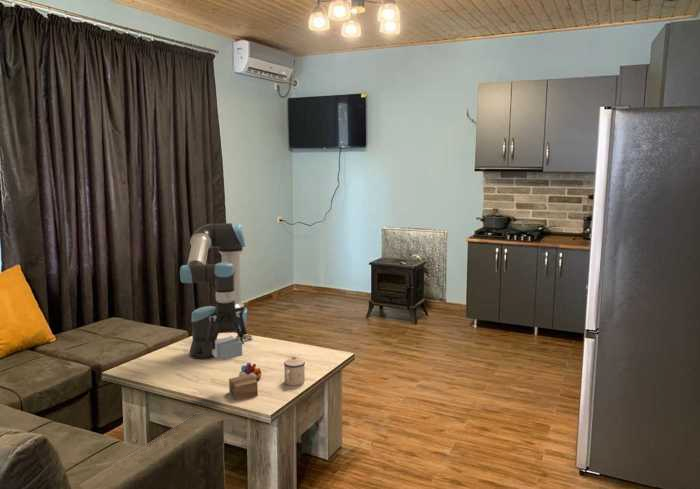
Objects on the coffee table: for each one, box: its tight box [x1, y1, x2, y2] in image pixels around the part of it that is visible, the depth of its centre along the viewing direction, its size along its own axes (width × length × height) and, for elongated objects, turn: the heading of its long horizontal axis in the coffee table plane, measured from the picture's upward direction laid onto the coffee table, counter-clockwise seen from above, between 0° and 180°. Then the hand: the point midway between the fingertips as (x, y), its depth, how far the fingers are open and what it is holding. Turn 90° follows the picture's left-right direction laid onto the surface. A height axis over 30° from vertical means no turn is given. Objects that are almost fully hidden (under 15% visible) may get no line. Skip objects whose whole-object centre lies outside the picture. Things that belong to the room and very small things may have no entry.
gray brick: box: [212, 335, 243, 361], centre depth 222 cm, size 9×9×6 cm
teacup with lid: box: [283, 355, 306, 386], centre depth 233 cm, size 12×9×12 cm
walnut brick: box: [228, 375, 259, 401], centre depth 222 cm, size 9×9×6 cm
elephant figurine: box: [236, 334, 254, 345], centre depth 286 cm, size 10×6×9 cm
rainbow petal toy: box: [238, 362, 262, 381], centre depth 237 cm, size 8×10×7 cm
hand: (227, 354), depth 222 cm, fingers closed on gray brick, 9 cm apart
